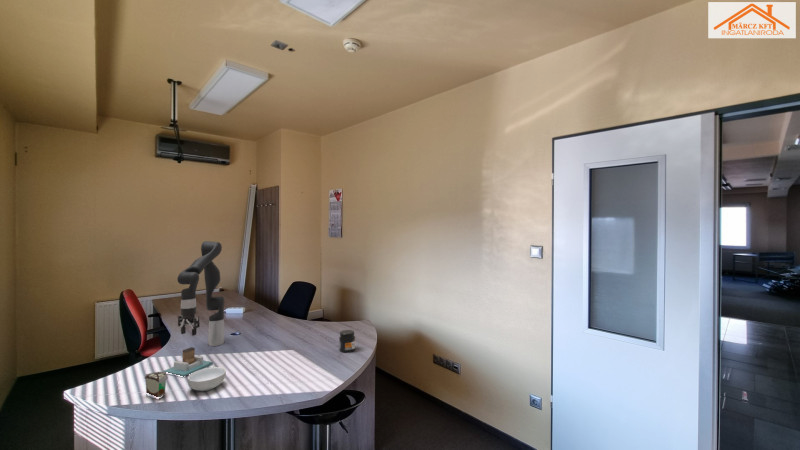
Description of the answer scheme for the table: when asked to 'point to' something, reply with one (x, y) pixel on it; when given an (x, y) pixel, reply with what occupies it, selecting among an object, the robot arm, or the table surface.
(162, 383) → the food container
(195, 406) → the table surface
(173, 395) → the table surface
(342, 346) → the supplement container
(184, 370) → the dish
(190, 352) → the brown upright block
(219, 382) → the cereal bowl
